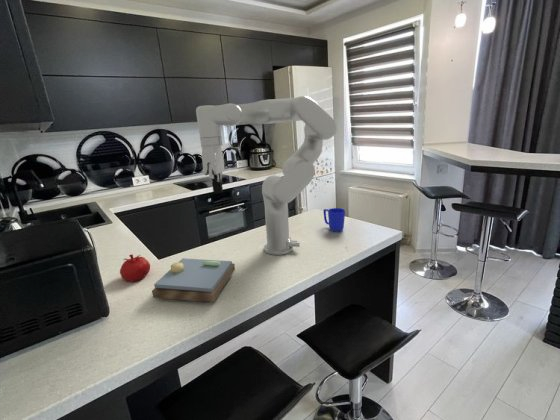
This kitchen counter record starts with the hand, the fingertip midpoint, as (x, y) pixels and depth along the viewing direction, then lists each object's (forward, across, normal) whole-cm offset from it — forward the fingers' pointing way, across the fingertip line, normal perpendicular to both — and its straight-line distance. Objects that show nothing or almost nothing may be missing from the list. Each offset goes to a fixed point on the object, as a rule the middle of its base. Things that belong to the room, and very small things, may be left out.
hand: (218, 192), depth 110 cm
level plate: (+23, +21, -4) cm, 31 cm away
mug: (+30, -36, +43) cm, 63 cm away
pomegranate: (+28, +16, -30) cm, 43 cm away
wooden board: (+28, +20, -4) cm, 35 cm away
